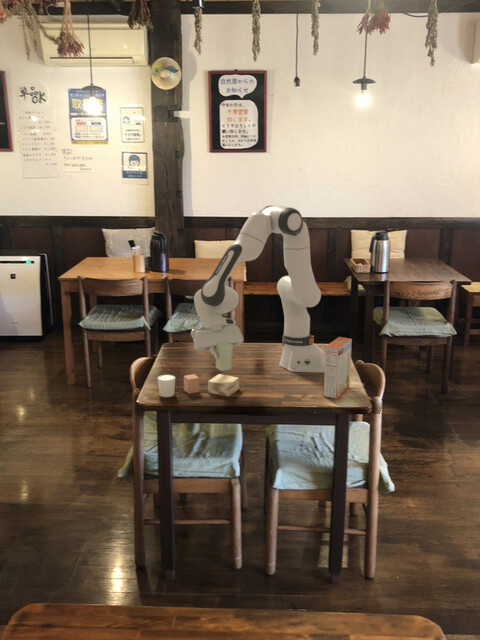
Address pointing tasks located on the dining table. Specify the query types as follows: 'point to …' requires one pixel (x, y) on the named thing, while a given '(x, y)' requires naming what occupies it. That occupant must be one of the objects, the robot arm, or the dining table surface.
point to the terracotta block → (191, 383)
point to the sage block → (223, 356)
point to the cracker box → (337, 367)
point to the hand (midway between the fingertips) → (224, 356)
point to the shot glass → (166, 385)
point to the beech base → (223, 385)
